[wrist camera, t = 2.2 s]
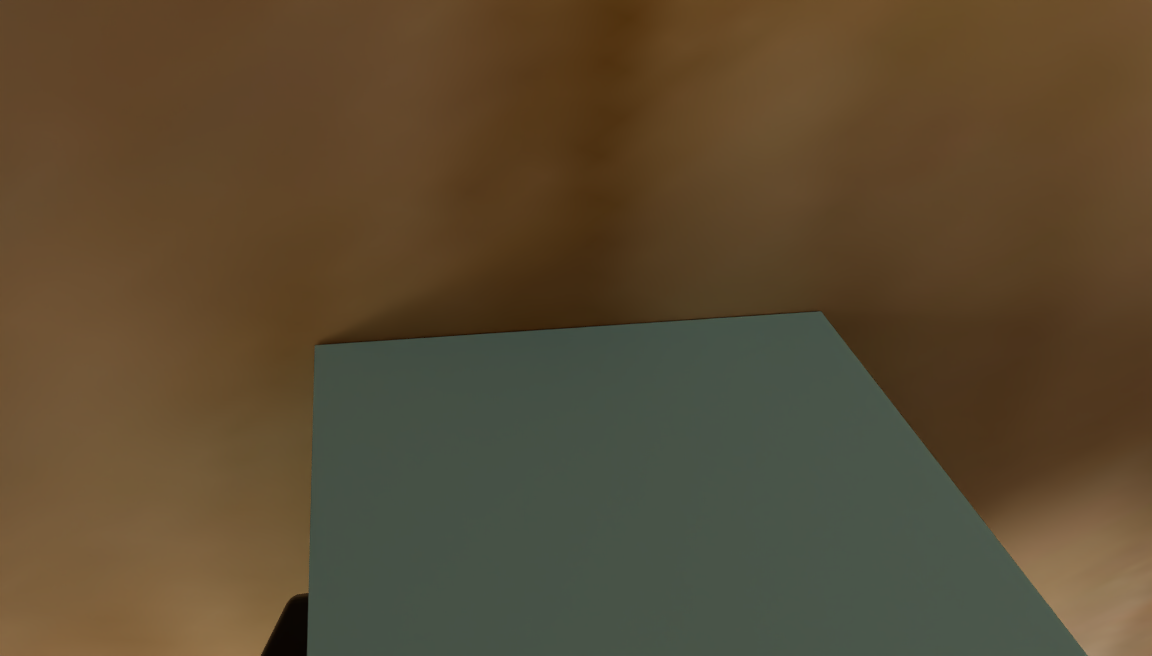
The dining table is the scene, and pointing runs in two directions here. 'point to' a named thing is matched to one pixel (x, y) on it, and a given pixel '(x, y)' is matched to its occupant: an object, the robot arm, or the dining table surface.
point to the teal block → (643, 502)
